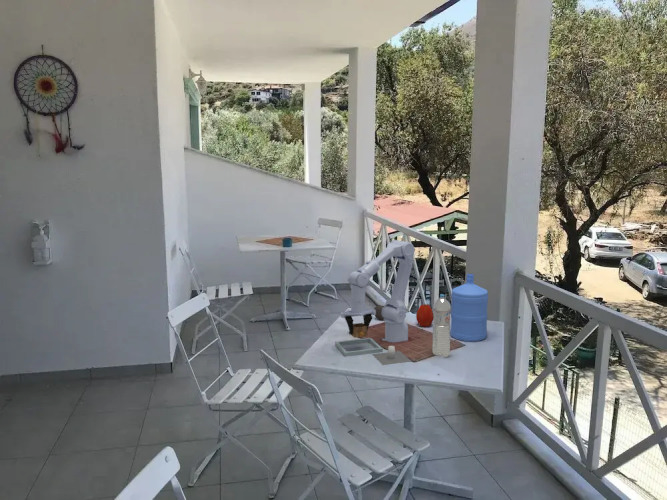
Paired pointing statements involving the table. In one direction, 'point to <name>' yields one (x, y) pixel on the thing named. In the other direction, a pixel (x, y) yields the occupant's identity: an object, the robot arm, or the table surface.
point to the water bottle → (441, 327)
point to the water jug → (469, 311)
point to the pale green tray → (359, 352)
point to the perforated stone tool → (379, 312)
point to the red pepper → (424, 315)
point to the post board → (392, 361)
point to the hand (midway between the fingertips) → (358, 332)
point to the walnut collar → (359, 330)
